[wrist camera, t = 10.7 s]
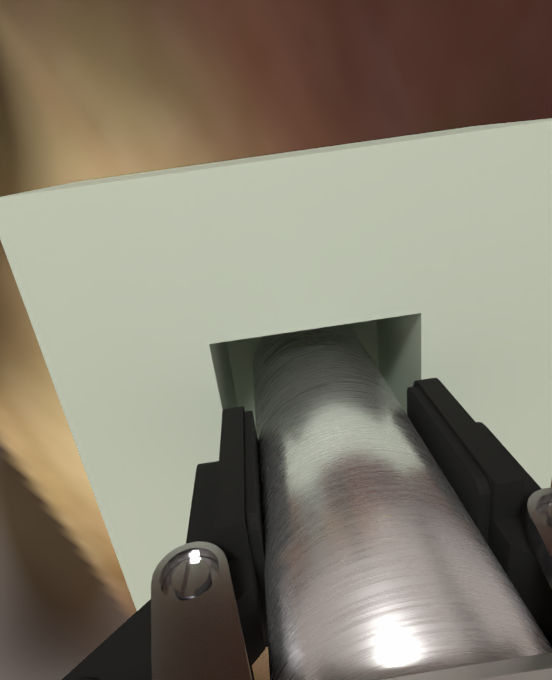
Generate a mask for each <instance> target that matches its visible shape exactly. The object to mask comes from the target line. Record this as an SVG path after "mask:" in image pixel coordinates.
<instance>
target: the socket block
mask: <svg viewBox="0 0 552 680" xmlns="http://www.w3.org/2000/svg"><path fill="white" fill-rule="evenodd" d="M0 240H1V242H2V245H3V248H4V250H5V253H6V256H7V259H8V261H9V264H10V267H11V270H12V272H13V275H14V278H15V280H16V283H17V286H18V289H19V291H20V294H21V297H22V299H23V302H24V305H25V308H26V310H27V313H28V316H29V319H30V321H31V324H32V327H33V329H34V332H35V335H36V338H37V340H38V343H39V346H40V348H41V351H42V354H43V357H44V359H45V362H46V365H47V368H48V370H49V373H50V376H51V378H52V381H53V384H54V387H55V389H56V392H57V395H58V397H59V400H60V403H61V406H62V408H63V411H64V414H65V417H66V419H67V422H68V425H69V427H70V430H71V433H72V436H73V438H74V441H75V444H76V446H77V449H78V452H79V455H80V457H81V460H82V463H83V466H84V468H85V471H86V474H87V476H88V479H89V482H90V485H91V487H92V490H93V493H94V495H95V498H96V501H97V504H98V506H99V509H100V512H101V515H102V517H103V520H104V523H105V525H106V528H107V531H108V534H109V536H110V539H111V542H112V544H113V547H114V550H115V553H116V555H117V558H118V561H119V564H120V566H121V569H122V572H123V574H124V577H125V580H126V583H127V585H128V588H129V591H130V593H131V596H132V599H133V602H134V604H135V607H136V610H137V611H138V610H139V609H140V608H141V607H142V606H144V605H145V604H146V603H147V602H148V601H149V600H150V599H151V581H152V575H153V573H154V571H155V569H156V567H157V565H158V563H159V562H160V561H161V560H162V559H163V558H164V557H165V556H166V555H167V554H168V553H170V552H171V551H172V550H174V549H175V548H177V547H179V546H182V545H184V544H186V539H187V532H188V525H189V517H190V510H191V503H192V496H193V489H194V481H195V474H196V468H197V465H198V464H201V463H208V462H215V461H219V452H220V438H221V424H222V411H223V409H228V408H234V407H241V406H244V409H245V411H253V416H254V421H255V427H256V416H255V398H254V380H253V358H254V353H255V351H256V348H257V346H258V344H259V342H260V340H261V339H262V337H263V336H268V335H275V334H282V333H288V332H295V331H302V330H309V329H316V328H323V327H329V326H336V325H343V324H347V325H348V326H350V327H351V328H352V330H353V331H354V332H355V333H356V335H357V336H358V338H359V339H360V341H361V343H362V344H363V346H364V347H365V349H366V351H367V352H368V354H369V355H370V357H371V359H372V360H373V362H374V363H375V365H376V367H377V368H378V370H379V371H380V373H381V375H382V376H383V378H384V379H385V381H386V383H387V384H388V386H389V387H390V389H391V391H392V392H393V394H394V395H395V397H396V399H397V400H398V402H399V403H400V405H401V407H402V408H403V410H404V411H405V413H406V415H407V388H408V387H413V383H414V381H416V380H423V379H429V378H438V379H439V380H440V381H441V382H442V384H443V385H444V386H445V387H446V388H447V389H448V391H449V392H450V393H451V394H452V395H453V396H454V397H455V399H456V400H457V401H458V402H459V403H460V404H461V406H462V407H463V408H464V409H465V410H466V411H467V413H468V414H469V415H470V416H471V417H472V418H473V420H474V421H475V422H481V423H483V424H484V425H485V426H487V428H488V429H489V430H490V431H491V432H492V433H493V434H494V435H495V437H496V438H497V439H498V440H499V441H500V442H501V443H502V445H503V446H504V447H505V448H506V449H507V450H508V451H509V452H510V454H511V455H512V456H513V457H514V458H515V459H516V460H517V461H518V463H519V464H520V465H521V466H522V467H523V468H524V469H525V470H526V472H527V473H528V474H529V475H530V476H531V477H532V478H533V480H534V481H535V482H536V483H537V484H538V485H539V486H540V487H541V489H543V488H550V485H551V478H552V118H551V119H541V120H531V121H521V122H511V123H501V124H491V125H481V126H473V127H465V128H458V129H451V130H444V131H437V132H430V133H422V134H415V135H408V136H401V137H394V138H387V139H379V140H372V141H365V142H358V143H351V144H344V145H337V146H329V147H322V148H315V149H308V150H301V151H294V152H286V153H279V154H272V155H265V156H258V157H251V158H243V159H236V160H229V161H222V162H215V163H208V164H200V165H193V166H186V167H179V168H172V169H165V170H158V171H150V172H143V173H136V174H129V175H122V176H115V177H107V178H100V179H93V180H86V181H79V182H73V183H68V184H63V185H58V186H53V187H47V188H42V189H37V190H32V191H27V192H22V193H17V194H12V195H7V196H2V197H0Z"/></svg>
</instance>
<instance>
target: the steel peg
mask: <svg viewBox="0 0 552 680" xmlns="http://www.w3.org/2000/svg"><path fill="white" fill-rule="evenodd" d="M253 380H254V398H255V416H256V433H257V439H258V452H259V469H260V486H261V503H262V520H263V537H264V554H265V571H264V578H265V596H266V614H267V632H268V650H269V668H270V680H381V679H388V678H394V677H400V676H406V675H413V674H419V673H425V672H431V671H438V670H444V669H450V668H456V667H463V666H469V665H475V664H482V663H488V662H494V661H501V660H507V659H513V658H519V657H526V656H532V655H539V654H545V653H552V646H551V645H550V643H549V642H548V640H547V638H546V637H545V635H544V634H543V632H542V630H541V629H540V627H539V626H538V624H537V622H536V621H535V619H534V618H533V616H532V614H531V613H530V611H529V610H528V608H527V606H526V605H525V603H524V602H523V600H522V598H521V597H520V595H519V594H518V592H517V590H516V589H515V587H514V586H513V584H512V582H511V581H510V579H509V578H508V576H507V574H506V573H505V571H504V570H503V568H502V566H501V565H500V563H499V562H498V560H497V558H496V557H495V555H494V554H493V552H492V550H491V549H490V547H489V546H488V544H487V542H486V541H485V539H484V538H483V536H482V534H481V533H480V531H479V530H478V528H477V526H476V525H475V523H474V522H473V520H472V518H471V517H470V515H469V514H468V512H467V510H466V509H465V507H464V506H463V504H462V502H461V501H460V499H459V498H458V496H457V495H456V493H455V491H454V490H453V488H452V487H451V485H450V483H449V482H448V480H447V479H446V477H445V475H444V474H443V472H442V471H441V469H440V467H439V466H438V464H437V463H436V461H435V459H434V458H433V456H432V455H431V453H430V451H429V450H428V448H427V447H426V445H425V443H424V442H423V440H422V439H421V437H420V435H419V434H418V432H417V431H416V429H415V427H414V426H413V424H412V423H411V421H410V419H409V418H408V416H407V415H406V413H405V411H404V410H403V408H402V407H401V405H400V403H399V402H398V400H397V399H396V397H395V395H394V394H393V392H392V391H391V389H390V387H389V386H388V384H387V383H386V381H385V379H384V378H383V376H382V375H381V373H380V371H379V370H378V368H377V367H376V365H375V363H374V362H373V360H372V359H371V357H370V355H369V354H368V352H367V351H366V349H365V347H364V346H363V344H362V343H361V341H360V339H359V338H358V336H357V335H356V333H355V332H354V331H353V330H352V328H351V327H350V326H348V325H347V324H343V325H336V326H329V327H323V328H316V329H309V330H302V331H295V332H288V333H282V334H275V335H268V336H263V337H262V339H261V340H260V342H259V344H258V346H257V348H256V351H255V353H254V358H253Z"/></svg>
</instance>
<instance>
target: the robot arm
mask: <svg viewBox="0 0 552 680" xmlns="http://www.w3.org/2000/svg"><path fill="white" fill-rule="evenodd" d="M407 416H408V418H409V419H410V421H411V423H412V424H413V426H414V427H415V429H416V431H417V432H418V434H419V435H420V437H421V439H422V440H423V442H424V443H425V445H426V447H427V448H428V450H429V451H430V453H431V455H432V456H433V458H434V459H435V461H436V463H437V464H438V466H439V467H440V469H441V471H442V472H443V474H444V475H445V477H446V479H447V480H448V482H449V483H450V485H451V487H452V488H453V490H454V491H455V493H456V495H457V496H458V498H459V499H460V501H461V502H462V504H463V506H464V507H465V509H466V510H467V512H468V514H469V515H470V517H471V518H472V520H473V522H474V523H475V525H476V526H477V528H478V530H479V531H480V533H481V534H482V536H483V538H484V539H485V541H486V542H487V544H488V546H489V547H490V549H491V550H492V552H493V554H494V555H495V557H496V558H497V560H498V562H499V563H500V565H501V566H502V568H503V570H504V571H505V573H506V574H507V576H508V578H509V579H510V581H511V582H512V584H513V586H514V587H515V589H516V590H517V592H518V594H519V595H520V597H521V598H522V600H523V602H524V603H525V605H526V606H527V608H528V610H529V611H530V613H531V614H532V616H533V618H534V619H535V621H536V622H537V624H538V626H539V627H540V629H541V630H542V632H543V634H544V635H545V637H546V638H547V640H548V642H549V643H550V645H551V646H552V487H551V488H543V489H541V487H540V486H539V485H538V484H537V483H536V482H535V481H534V480H533V478H532V477H531V476H530V475H529V474H528V473H527V472H526V470H525V469H524V468H523V467H522V466H521V465H520V464H519V463H518V461H517V460H516V459H515V458H514V457H513V456H512V455H511V454H510V452H509V451H508V450H507V449H506V448H505V447H504V446H503V445H502V443H501V442H500V441H499V440H498V439H497V438H496V437H495V435H494V434H493V433H492V432H491V431H490V430H489V429H488V428H487V426H485V425H484V424H483V423H481V422H475V421H474V420H473V418H472V417H471V416H470V415H469V414H468V413H467V411H466V410H465V409H464V408H463V407H462V406H461V404H460V403H459V402H458V401H457V400H456V399H455V397H454V396H453V395H452V394H451V393H450V392H449V391H448V389H447V388H446V387H445V386H444V385H443V384H442V382H441V381H440V380H439V379H438V378H429V379H423V380H416V381H414V383H413V387H408V388H407ZM264 571H265V554H264V537H263V520H262V503H261V486H260V469H259V452H258V439H257V433H256V427H255V421H254V416H253V411H245V409H244V406H241V407H234V408H228V409H223V411H222V424H221V438H220V452H219V461H215V462H208V463H201V464H198V465H197V468H196V474H195V481H194V489H193V496H192V503H191V510H190V517H189V525H188V532H187V539H186V544H184V545H182V546H179V547H177V548H175V549H174V550H172V551H171V552H170V553H168V554H167V555H166V556H165V557H164V558H163V559H162V560H161V561H160V562H159V563H158V565H157V567H156V569H155V571H154V573H153V575H152V581H151V599H150V600H149V601H148V602H147V603H146V604H145V605H144V606H142V607H141V608H140V609H139V610H138V611H137V612H136V613H135V614H134V615H132V616H131V617H130V618H129V619H128V620H127V621H126V622H125V623H124V624H123V625H122V626H121V627H119V628H118V629H117V630H116V631H115V632H114V633H113V634H112V635H110V636H109V638H107V639H106V640H105V641H104V642H103V643H102V644H101V645H100V646H98V647H97V648H96V649H95V650H94V651H93V652H92V653H91V654H90V655H88V656H87V657H86V658H85V659H84V660H83V661H82V662H81V663H80V664H79V665H78V666H76V667H75V668H74V669H73V670H72V671H71V672H70V673H69V674H68V675H66V676H65V677H64V678H63V679H62V680H255V677H254V672H253V667H252V665H253V663H254V662H255V661H256V660H257V658H258V657H259V656H260V655H261V653H262V652H263V651H264V650H265V647H268V632H267V614H266V596H265V578H264ZM381 680H552V653H545V654H539V655H532V656H526V657H519V658H513V659H507V660H501V661H494V662H488V663H482V664H475V665H469V666H463V667H456V668H450V669H444V670H438V671H431V672H425V673H419V674H413V675H406V676H400V677H394V678H388V679H381Z"/></svg>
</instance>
